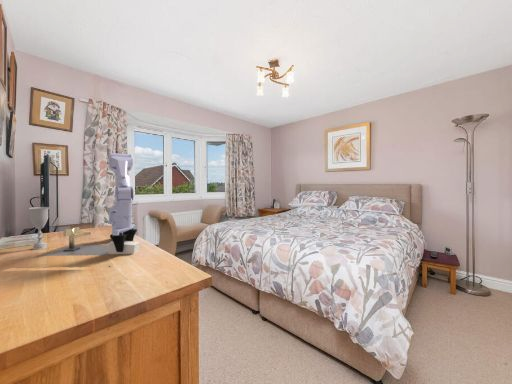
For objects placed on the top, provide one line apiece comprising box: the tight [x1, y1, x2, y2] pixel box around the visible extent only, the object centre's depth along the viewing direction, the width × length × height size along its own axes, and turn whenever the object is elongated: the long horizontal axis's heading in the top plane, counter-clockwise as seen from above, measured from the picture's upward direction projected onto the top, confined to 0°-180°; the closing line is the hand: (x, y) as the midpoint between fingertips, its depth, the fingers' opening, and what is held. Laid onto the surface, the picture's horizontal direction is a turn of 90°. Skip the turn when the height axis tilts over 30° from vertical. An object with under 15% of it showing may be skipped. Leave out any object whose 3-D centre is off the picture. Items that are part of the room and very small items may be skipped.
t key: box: [62, 226, 91, 249], centre depth 99 cm, size 2×12×8 cm, turn 175°
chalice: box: [28, 206, 50, 251], centre depth 102 cm, size 7×7×18 cm
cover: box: [108, 240, 141, 255], centre depth 95 cm, size 5×10×4 cm, turn 95°
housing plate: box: [41, 244, 109, 257], centre depth 97 cm, size 15×24×2 cm, turn 95°
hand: (124, 249), depth 95 cm, fingers open, 7 cm apart
